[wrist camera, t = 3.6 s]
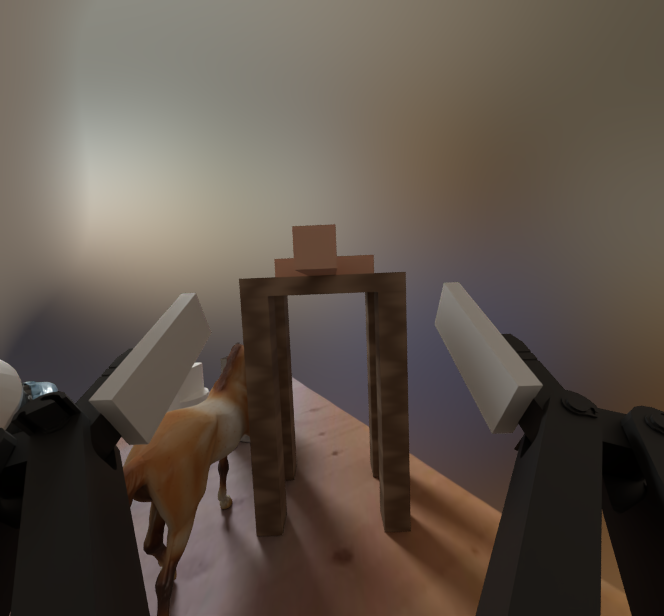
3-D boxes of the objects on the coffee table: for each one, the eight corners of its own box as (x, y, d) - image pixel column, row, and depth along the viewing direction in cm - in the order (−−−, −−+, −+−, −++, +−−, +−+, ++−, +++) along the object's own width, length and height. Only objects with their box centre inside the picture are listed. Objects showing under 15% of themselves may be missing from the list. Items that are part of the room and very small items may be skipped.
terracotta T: (216, 273, 19) (213, 229, 18) (279, 280, 41) (278, 261, 40) (415, 264, 18) (414, 220, 18) (371, 277, 40) (370, 257, 40)
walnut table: (256, 536, 31) (239, 278, 29) (278, 466, 43) (267, 281, 41) (410, 531, 31) (405, 271, 28) (389, 462, 43) (384, 276, 40)
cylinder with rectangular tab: (183, 410, 65) (179, 362, 64) (218, 411, 64) (214, 362, 63) (155, 430, 56) (149, 375, 55) (194, 431, 55) (189, 375, 54)
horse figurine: (246, 455, 46) (238, 339, 45) (289, 458, 45) (282, 339, 43) (-11, 783, 16) (-65, 455, 14) (96, 826, 14) (48, 467, 13)
